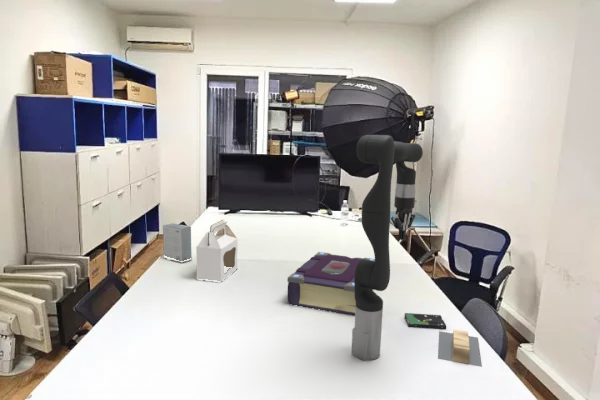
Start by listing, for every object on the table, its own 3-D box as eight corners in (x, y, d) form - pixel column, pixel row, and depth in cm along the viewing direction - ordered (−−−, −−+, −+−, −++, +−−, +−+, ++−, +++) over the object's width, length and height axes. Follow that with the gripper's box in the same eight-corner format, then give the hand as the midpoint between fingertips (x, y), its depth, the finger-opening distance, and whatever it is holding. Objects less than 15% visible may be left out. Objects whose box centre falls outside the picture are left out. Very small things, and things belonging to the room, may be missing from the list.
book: (284, 304, 194) (284, 274, 192) (315, 274, 236) (316, 248, 234) (358, 317, 183) (360, 285, 181) (377, 283, 225) (379, 256, 223)
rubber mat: (481, 368, 146) (482, 366, 146) (437, 360, 150) (437, 358, 150) (477, 339, 166) (478, 337, 166) (439, 332, 171) (439, 331, 171)
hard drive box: (192, 260, 253) (191, 226, 249) (181, 263, 246) (181, 228, 243) (173, 255, 261) (172, 222, 258) (163, 258, 254) (162, 225, 251)
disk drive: (439, 321, 183) (403, 318, 184) (440, 314, 182) (404, 312, 183) (446, 332, 172) (408, 329, 173) (447, 325, 172) (408, 323, 173)
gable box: (220, 283, 218) (220, 228, 213) (196, 280, 221) (195, 225, 216) (237, 269, 239) (237, 219, 234) (214, 267, 242) (214, 217, 237)
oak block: (466, 344, 160) (468, 363, 147) (452, 342, 162) (452, 360, 149) (468, 331, 160) (469, 349, 147) (453, 329, 161) (453, 346, 148)
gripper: (402, 198, 162) (399, 244, 165) (423, 195, 171) (419, 238, 173) (386, 195, 167) (383, 239, 170) (406, 192, 176) (404, 235, 179)
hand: (402, 239), depth 172 cm, fingers closed
